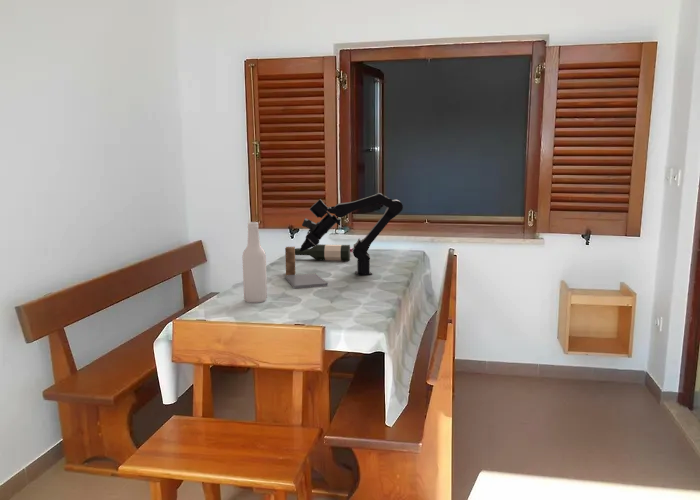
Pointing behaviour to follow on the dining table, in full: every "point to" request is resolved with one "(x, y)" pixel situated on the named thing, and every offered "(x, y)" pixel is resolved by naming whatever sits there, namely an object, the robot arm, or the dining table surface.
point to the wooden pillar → (290, 260)
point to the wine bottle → (327, 252)
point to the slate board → (305, 280)
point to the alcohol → (254, 267)
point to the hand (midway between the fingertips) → (300, 249)
